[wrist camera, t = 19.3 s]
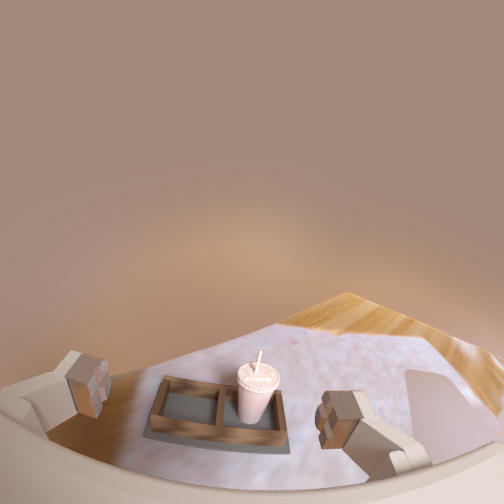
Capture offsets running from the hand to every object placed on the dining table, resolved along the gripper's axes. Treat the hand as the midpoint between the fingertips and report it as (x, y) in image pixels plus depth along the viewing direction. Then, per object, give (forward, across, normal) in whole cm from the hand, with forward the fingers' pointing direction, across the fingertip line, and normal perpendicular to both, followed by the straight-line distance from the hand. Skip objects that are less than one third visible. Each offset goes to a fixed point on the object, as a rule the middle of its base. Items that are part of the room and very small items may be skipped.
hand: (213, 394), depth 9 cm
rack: (+24, -1, +30) cm, 38 cm away
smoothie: (+25, -6, +30) cm, 39 cm away
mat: (+24, -1, +30) cm, 38 cm away
